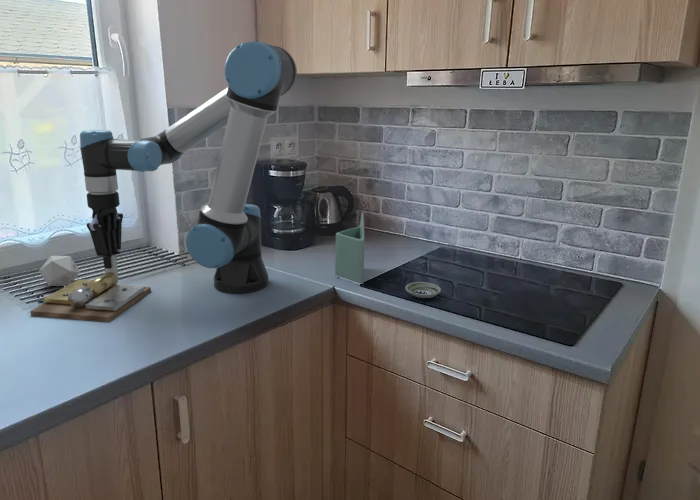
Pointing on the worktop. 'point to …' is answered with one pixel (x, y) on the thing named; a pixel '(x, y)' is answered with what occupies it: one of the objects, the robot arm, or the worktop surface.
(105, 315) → the mount board
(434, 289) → the saucer
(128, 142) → the robot arm
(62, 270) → the die
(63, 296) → the loose leaf
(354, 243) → the planter
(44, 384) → the worktop surface
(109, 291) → the fixed leaf
